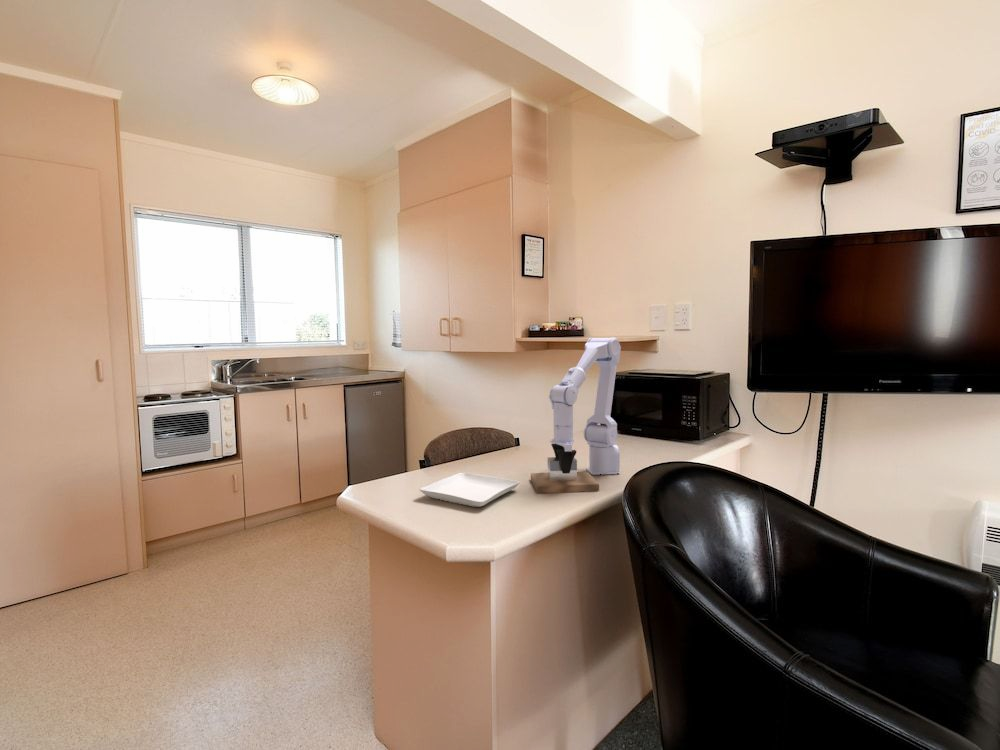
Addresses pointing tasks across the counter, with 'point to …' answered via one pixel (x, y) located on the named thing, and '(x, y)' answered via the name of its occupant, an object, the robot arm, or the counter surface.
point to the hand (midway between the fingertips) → (563, 469)
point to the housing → (556, 470)
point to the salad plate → (469, 489)
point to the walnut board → (564, 483)
